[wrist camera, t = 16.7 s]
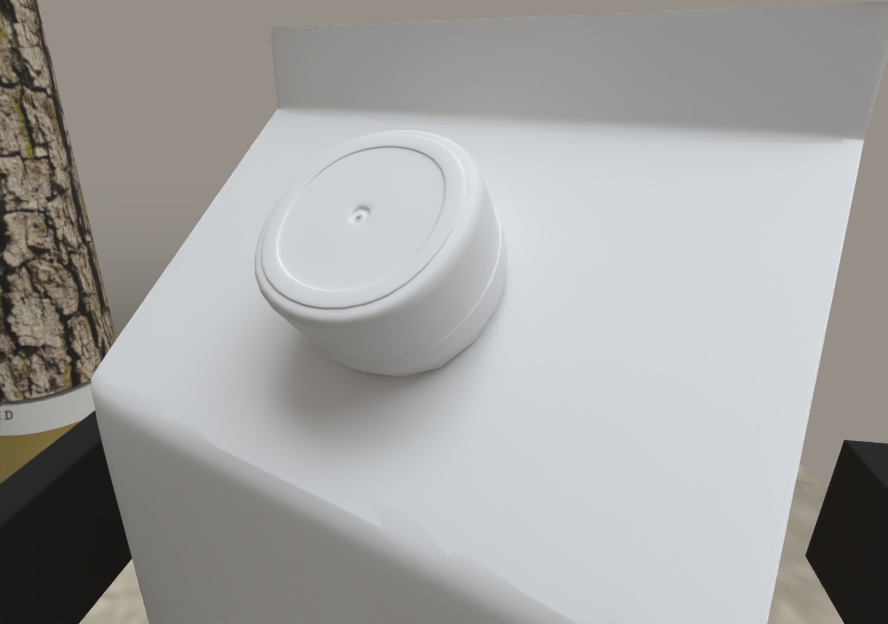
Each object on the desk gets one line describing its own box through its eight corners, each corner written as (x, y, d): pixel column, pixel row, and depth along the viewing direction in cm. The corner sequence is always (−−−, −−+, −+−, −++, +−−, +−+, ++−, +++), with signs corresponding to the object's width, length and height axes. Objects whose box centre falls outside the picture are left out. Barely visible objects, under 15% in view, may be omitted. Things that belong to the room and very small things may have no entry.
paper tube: (69, 518, 28) (-124, -108, 18) (-39, 492, 29) (-270, -95, 19) (167, 438, 34) (62, -62, 24) (73, 420, 35) (-61, -55, 26)
